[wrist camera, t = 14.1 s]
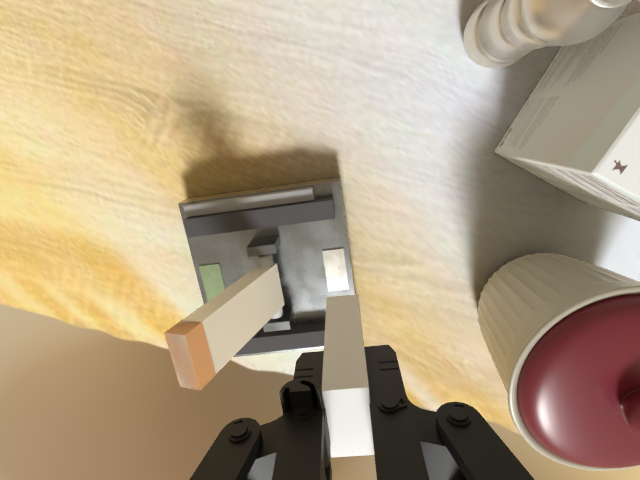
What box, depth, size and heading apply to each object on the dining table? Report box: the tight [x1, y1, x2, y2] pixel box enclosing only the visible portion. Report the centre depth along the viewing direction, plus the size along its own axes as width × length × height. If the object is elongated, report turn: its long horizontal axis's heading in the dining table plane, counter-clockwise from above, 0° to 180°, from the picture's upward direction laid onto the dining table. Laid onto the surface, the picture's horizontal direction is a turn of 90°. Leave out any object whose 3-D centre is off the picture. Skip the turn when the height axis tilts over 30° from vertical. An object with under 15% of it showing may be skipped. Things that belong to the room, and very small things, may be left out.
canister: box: [478, 253, 640, 471], centre depth 38 cm, size 18×18×21 cm
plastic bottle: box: [463, 0, 633, 68], centre depth 30 cm, size 6×7×20 cm
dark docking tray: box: [183, 187, 335, 355], centre depth 44 cm, size 18×16×2 cm
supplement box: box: [494, 12, 640, 221], centre depth 33 cm, size 13×13×18 cm
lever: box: [164, 254, 285, 390], centre depth 37 cm, size 7×2×15 cm, turn 8°
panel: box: [178, 177, 355, 357], centre depth 45 cm, size 20×18×6 cm
